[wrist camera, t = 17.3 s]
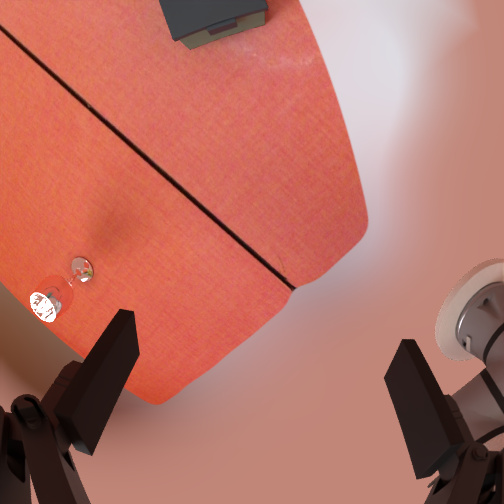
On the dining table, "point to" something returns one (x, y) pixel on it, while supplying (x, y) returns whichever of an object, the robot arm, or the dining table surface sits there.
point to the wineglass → (58, 291)
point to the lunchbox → (211, 18)
